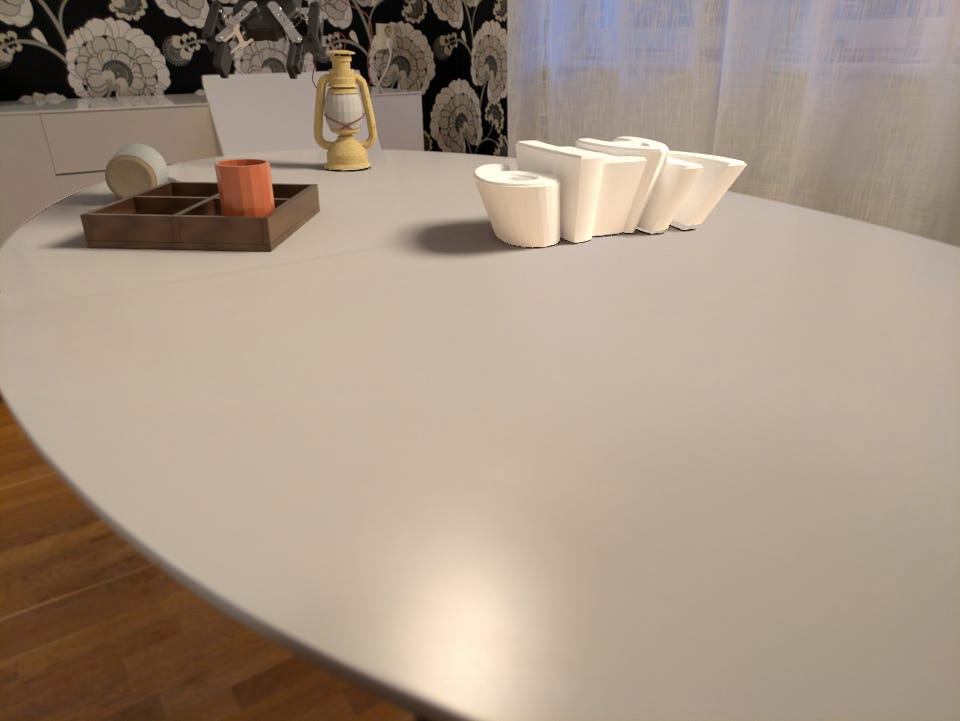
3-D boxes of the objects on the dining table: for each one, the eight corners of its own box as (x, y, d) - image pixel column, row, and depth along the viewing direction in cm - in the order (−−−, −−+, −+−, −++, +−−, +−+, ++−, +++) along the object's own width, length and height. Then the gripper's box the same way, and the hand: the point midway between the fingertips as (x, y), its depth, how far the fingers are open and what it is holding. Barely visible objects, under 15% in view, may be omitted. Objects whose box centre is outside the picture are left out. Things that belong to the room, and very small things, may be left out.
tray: (87, 247, 77) (79, 214, 76) (172, 208, 97) (168, 181, 95) (271, 251, 76) (267, 218, 75) (320, 211, 96) (317, 184, 94)
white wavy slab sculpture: (670, 207, 100) (679, 133, 96) (747, 233, 86) (762, 147, 82) (448, 225, 89) (447, 142, 84) (495, 258, 75) (497, 160, 70)
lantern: (376, 163, 137) (368, -4, 125) (381, 170, 129) (372, -8, 116) (316, 164, 135) (301, -6, 122) (317, 172, 126) (301, -10, 114)
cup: (216, 236, 78) (205, 166, 75) (236, 224, 84) (226, 158, 80) (267, 237, 78) (258, 166, 75) (283, 225, 84) (276, 159, 80)
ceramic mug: (107, 205, 97) (96, 150, 94) (119, 194, 105) (109, 143, 101) (185, 203, 100) (177, 150, 97) (192, 193, 107) (185, 143, 104)
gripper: (336, 0, 90) (321, 96, 85) (231, -1, 91) (210, 95, 85) (322, -52, 83) (306, 50, 78) (209, -52, 84) (184, 49, 78)
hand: (256, 73), depth 81 cm, fingers open, 8 cm apart
